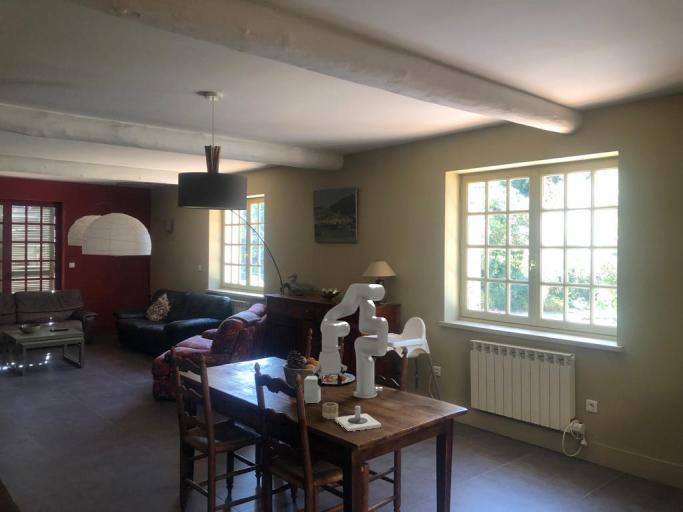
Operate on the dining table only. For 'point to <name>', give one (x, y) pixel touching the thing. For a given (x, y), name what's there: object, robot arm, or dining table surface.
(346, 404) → the dining table surface
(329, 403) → the beech collar
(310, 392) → the supplement box
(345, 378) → the ceramic plate
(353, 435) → the dining table surface
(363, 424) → the steel post stand
